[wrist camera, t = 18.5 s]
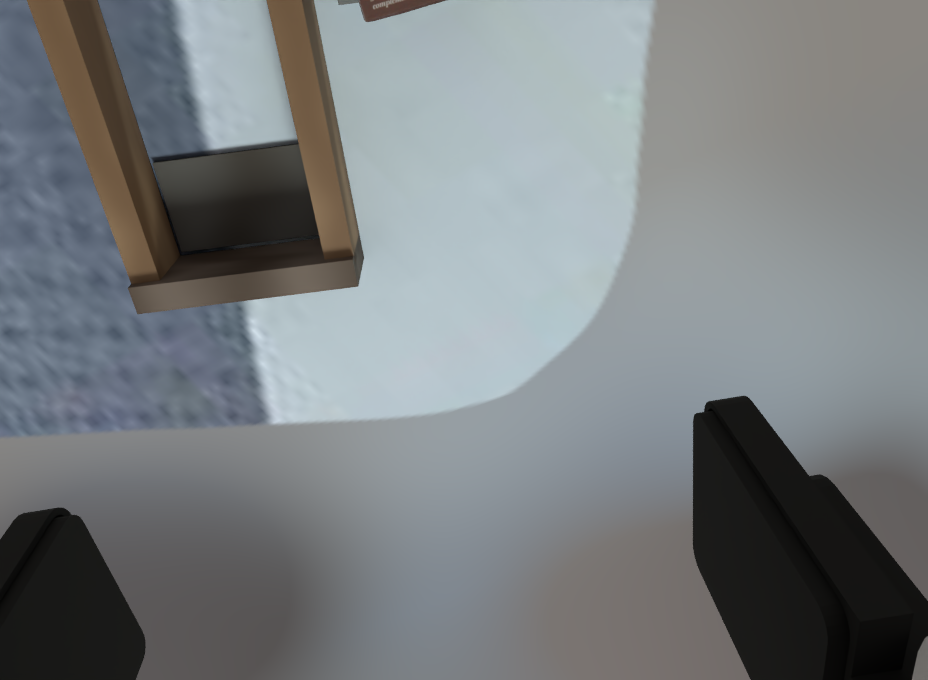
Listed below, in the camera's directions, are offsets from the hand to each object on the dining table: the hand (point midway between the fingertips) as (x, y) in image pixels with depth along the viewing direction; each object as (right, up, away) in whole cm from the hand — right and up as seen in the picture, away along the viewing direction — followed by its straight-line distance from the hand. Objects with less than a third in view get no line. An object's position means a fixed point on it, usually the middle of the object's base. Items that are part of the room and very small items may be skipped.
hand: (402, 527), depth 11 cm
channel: (-12, +14, +26) cm, 32 cm away
